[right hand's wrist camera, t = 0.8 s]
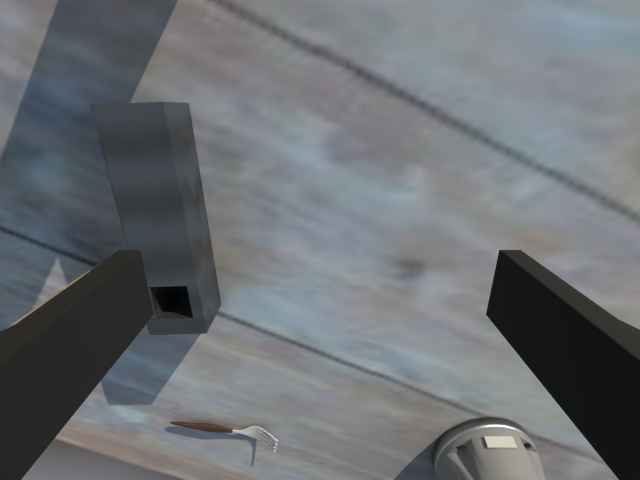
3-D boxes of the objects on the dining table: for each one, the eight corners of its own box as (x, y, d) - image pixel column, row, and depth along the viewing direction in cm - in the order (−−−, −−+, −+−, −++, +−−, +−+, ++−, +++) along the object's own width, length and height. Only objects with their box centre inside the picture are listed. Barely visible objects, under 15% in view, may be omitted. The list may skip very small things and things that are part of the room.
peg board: (221, 304, 44) (206, 333, 38) (171, 306, 44) (149, 335, 38) (188, 102, 35) (163, 101, 29) (127, 105, 35) (90, 104, 30)
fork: (172, 412, 50) (166, 424, 48) (279, 428, 51) (278, 440, 49) (171, 425, 51) (165, 437, 49) (277, 440, 52) (275, 453, 50)
